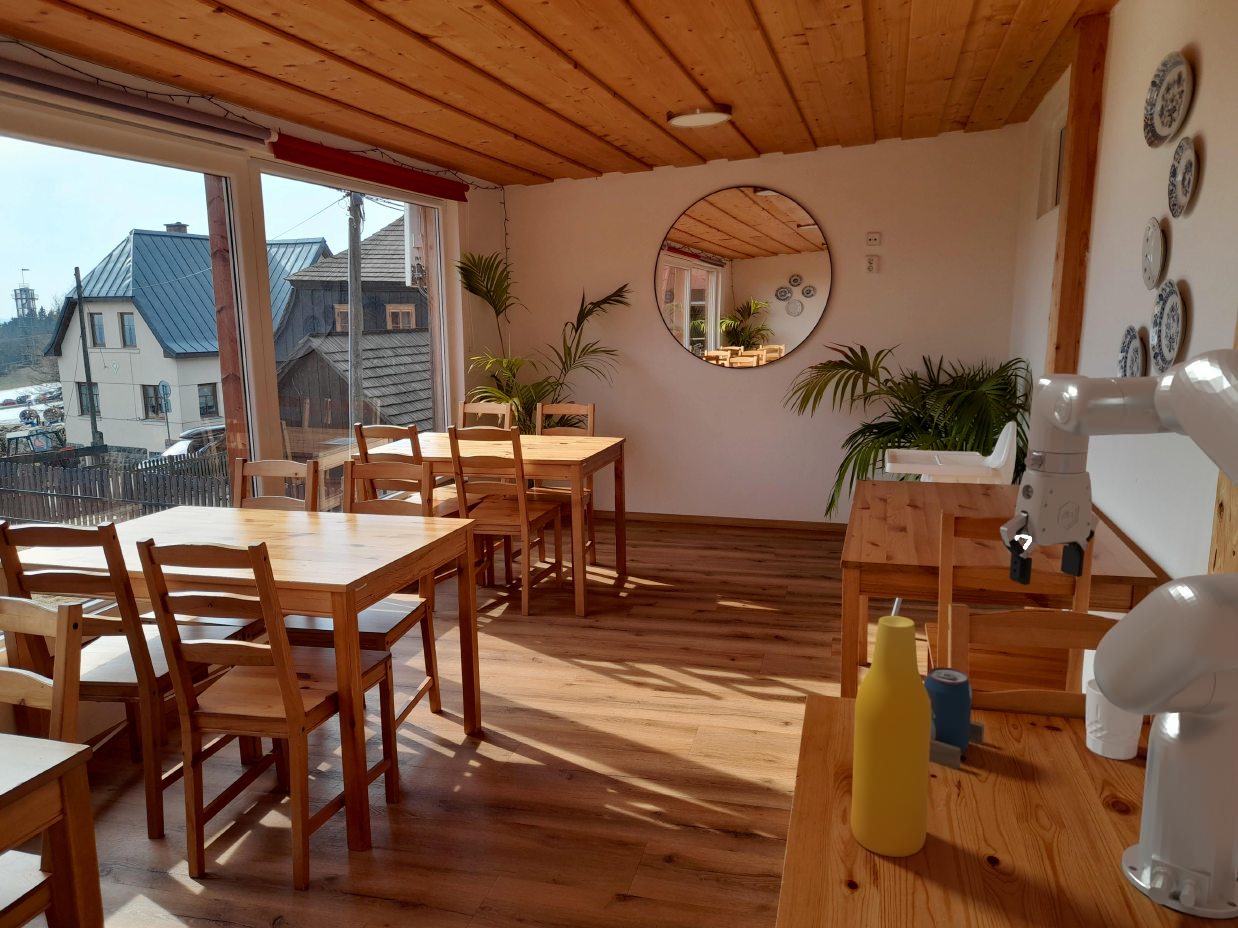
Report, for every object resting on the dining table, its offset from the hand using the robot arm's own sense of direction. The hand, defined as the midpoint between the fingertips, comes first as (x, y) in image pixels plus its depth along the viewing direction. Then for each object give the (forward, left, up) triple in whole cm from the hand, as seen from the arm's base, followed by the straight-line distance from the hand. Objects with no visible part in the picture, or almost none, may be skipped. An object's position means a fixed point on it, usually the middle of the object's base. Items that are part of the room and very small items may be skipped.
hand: (1045, 578), depth 121 cm
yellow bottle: (-32, +8, -29) cm, 44 cm away
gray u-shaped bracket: (-4, +12, -29) cm, 31 cm away
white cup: (+12, -8, -29) cm, 32 cm away
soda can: (-4, +12, -29) cm, 31 cm away
